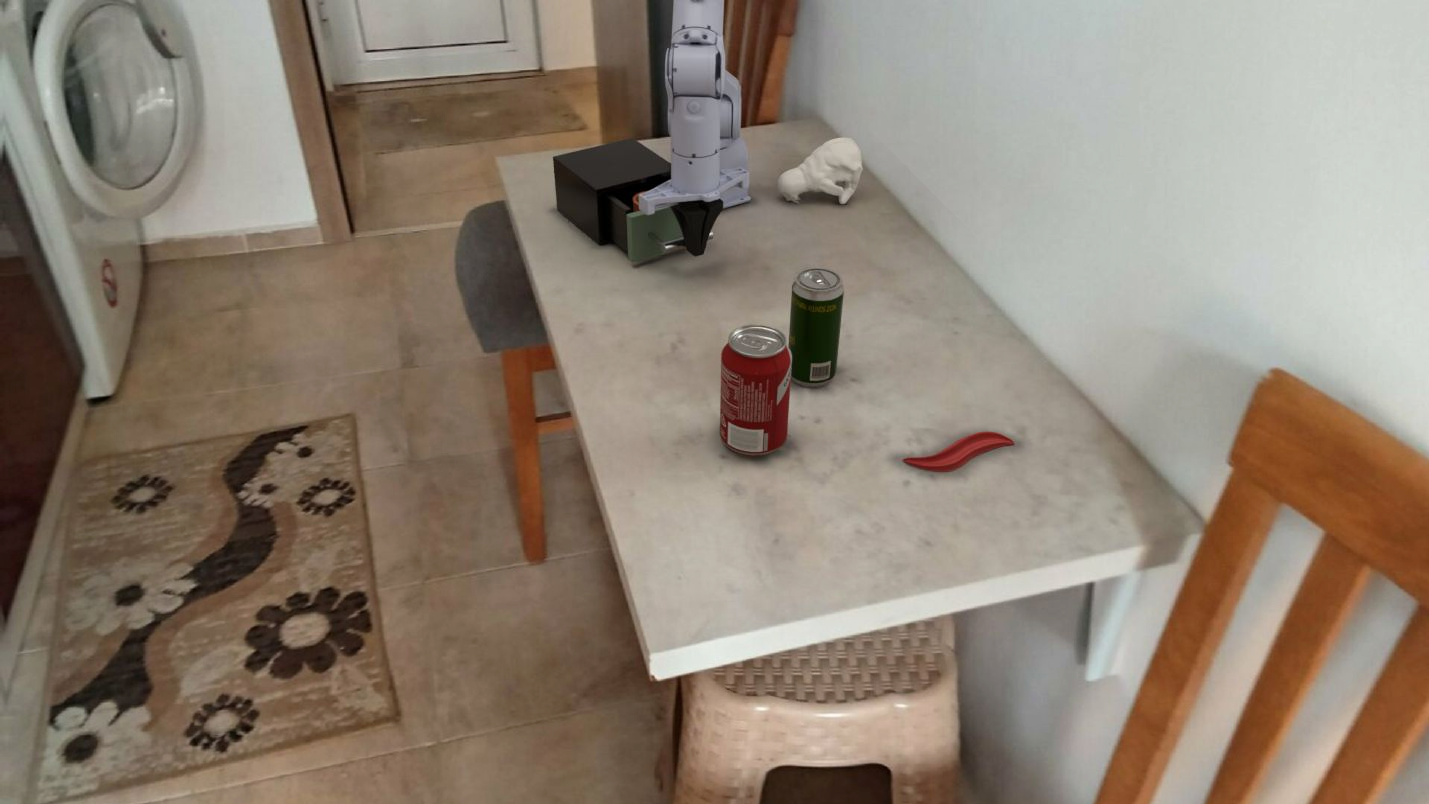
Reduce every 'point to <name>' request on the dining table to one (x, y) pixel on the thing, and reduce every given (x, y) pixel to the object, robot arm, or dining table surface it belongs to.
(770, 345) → the soda can
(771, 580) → the dining table surface
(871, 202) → the dining table surface
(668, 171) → the drawer cabinet
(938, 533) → the dining table surface
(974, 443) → the cayenne pepper
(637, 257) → the green drawer
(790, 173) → the white lumpy figure
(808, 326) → the beer can
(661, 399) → the dining table surface
